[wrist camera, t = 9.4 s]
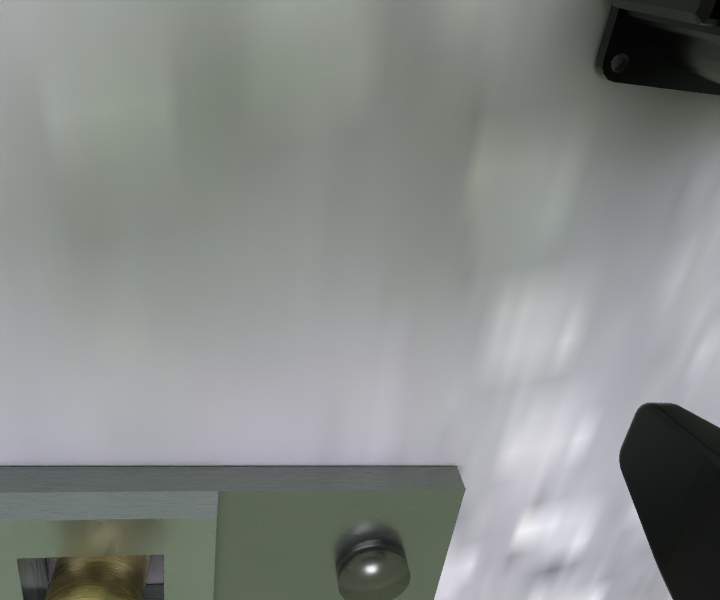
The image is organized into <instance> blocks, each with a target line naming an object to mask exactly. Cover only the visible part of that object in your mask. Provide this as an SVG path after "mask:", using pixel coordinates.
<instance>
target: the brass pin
mask: <svg viewBox="0 0 720 600" xmlns="http://www.w3.org/2000/svg"><path fill="white" fill-rule="evenodd" d="M150 556H151V555H133V556H94V557H58V559H57V562H56V565H55V569H54V572H53V575H52V578H51V581H50V585H49V588H48V591H47V594H46V598H45V600H143V599H144V593H145V587H146V581H147V574H148V568H149V562H150Z"/></svg>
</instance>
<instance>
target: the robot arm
mask: <svg viewBox="0 0 720 600" xmlns="http://www.w3.org/2000/svg"><path fill="white" fill-rule="evenodd" d="M611 1H612V3H613V4H612V8H611V11H610V15H609V18H608V22H607V25H606V28H605V32H604V35H603V39H602V42H601V45H600V49H599V52H598V56H597V60H596V69H597V72H598V74H599V75H600V76H601V77H603V78H605V79H607V80H610V81H613V82H617V83H626V84H634V85H642V86H650V87H658V88H666V89H674V90H682V91H690V92H698V93H707V94H715V95H720V0H611ZM618 54H621V56H622V61H621V63H620V65H619V67H618V68H616V69H615V70H612V68H611V62H612V60H613V58H614V57H615V56H616V55H618ZM619 462H620V468H621V471H622V474H623V476H624V479H625V482H626V484H627V487H628V490H629V492H630V495H631V497H632V500H633V503H634V505H635V508H636V511H637V513H638V516H639V519H640V521H641V524H642V527H643V529H644V532H645V535H646V537H647V540H648V542H649V545H650V548H651V550H652V553H653V556H654V558H655V561H656V563H657V566H658V568H659V570H660V573H661V575H662V577H663V580H664V582H665V584H666V586H667V588H668V590H669V593H670V595H671V597H672V599H673V600H720V428H719V427H717V426H715V425H714V424H712V423H710V422H708V421H706V420H704V419H702V418H701V417H699V416H697V415H695V414H693V413H691V412H690V411H688V410H686V409H684V408H682V407H680V406H678V405H676V404H672V403H645V404H643V405H641V406H640V407H639V408H638V410H637V411H636V414H635V416H634V418H633V421H632V423H631V425H630V428H629V430H628V432H627V435H626V437H625V440H624V442H623V444H622V447H621V450H620V455H619Z"/></svg>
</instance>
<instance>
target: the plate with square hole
mask: <svg viewBox="0 0 720 600" xmlns="http://www.w3.org/2000/svg"><path fill="white" fill-rule="evenodd" d="M464 492H465V487H464V484H463V482H462V479H461V477H460V474H459V471H458V469H457V466H265V467H0V600H45V598H46V594H47V591H48V588H49V585H48V578H47V570H46V563H45V558H54V557H94V556H133V555H164V584H161V585H146V587H145V593H144V599H143V600H434V597H435V593H436V590H437V586H438V583H439V579H440V576H441V572H442V569H443V565H444V562H445V558H446V555H447V551H448V548H449V545H450V541H451V538H452V534H453V531H454V527H455V524H456V520H457V517H458V513H459V510H460V506H461V503H462V499H463V496H464Z"/></svg>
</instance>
